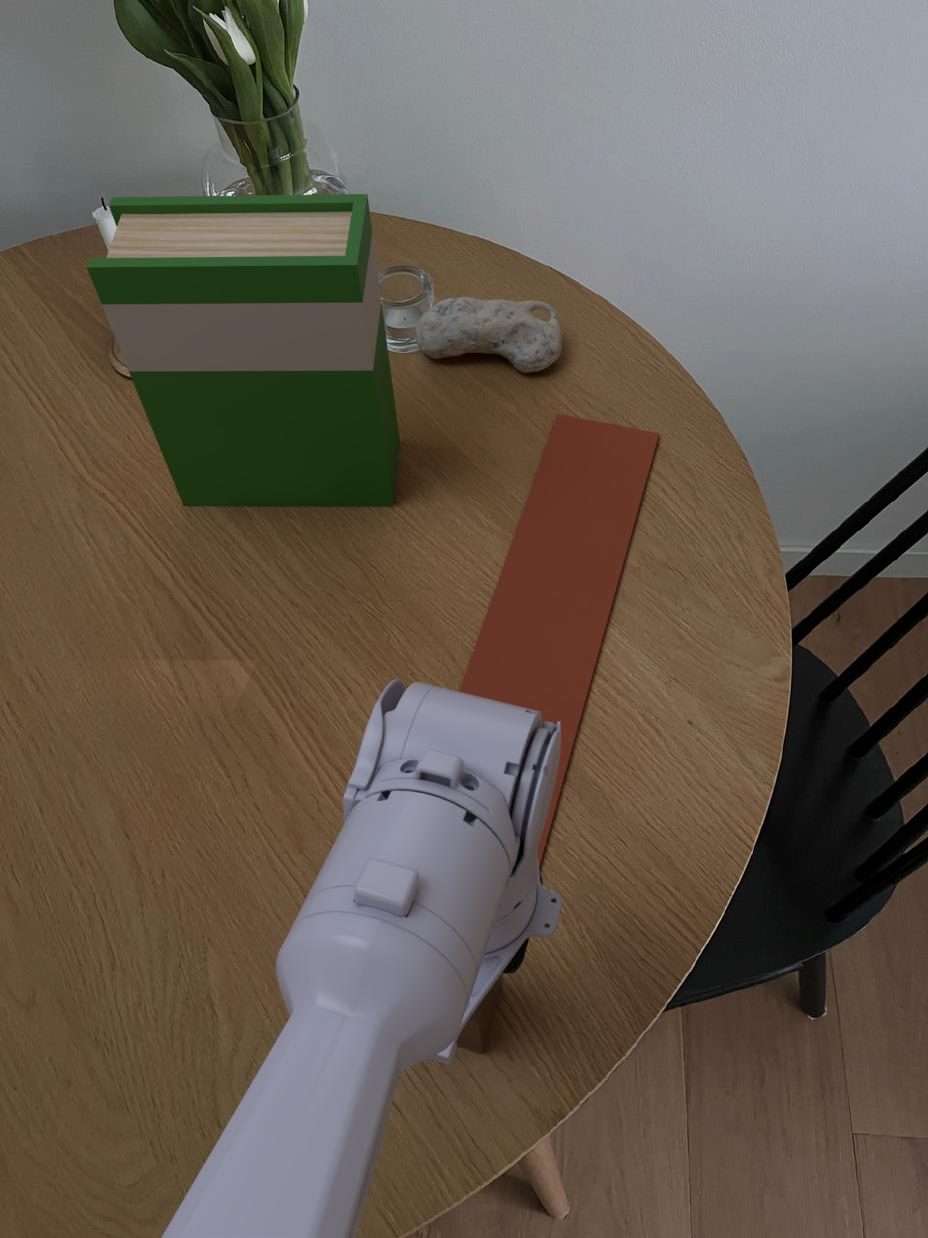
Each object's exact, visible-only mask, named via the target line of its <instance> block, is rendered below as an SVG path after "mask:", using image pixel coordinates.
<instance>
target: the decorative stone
mask: <svg viewBox="0 0 928 1238" xmlns="http://www.w3.org/2000/svg"><path fill="white" fill-rule="evenodd" d="M539 309H541V310H545V311H548V312H549V313H550V320H549V321H547V320H541V319H539V318H537V317H534V316H533V311H535V310H539ZM414 330H415V331H414V337H415V342H416V346H417V348H418V349H419V350H420V351H421V352H422V353H423V354H424V355H426V356H427V357H429V358H431V359H435V360H438V359H439V360H440V359H446V358H449V357H450V358H451V357H458V356H461V355H465V354H471V353H472V354H473V353H474V354H475V353H480V354H490V355H491V354H492V355H500V356H501V357H504V358H506V359H507V360H508V361H509V362H510V363H511V365H512V366H513V368H515V369H516V370H517V371H519V372H521V373H523V374H527V373H535V372H536V373H537V372H540V371H543V370H545V369H547V368H548V367H549V366H551V365H552V364H553V363H555V362H556V361H557V360H558V359H559V357H560V356H561V353H562V346H563V343H562V341H563V338H562V337H563V336H562V331H561V325H560V320H559V316H558V313H557V311H556V310H555V308H554V307H553V306H551V305H550V304H549V303H546V302H544V301H541V300H539V301H538V300H533V299H531V300H524V301H513V300H505V299H488V300H484V299H480V298H475V297H471V296H461V297H460V296H459V297H456V298H453V297H449V298H445V299H443V300H441V301H438V302H437V303H435V304H434V305H433V306H432V307H431V308H429V309H428V310H427V311H426V312H424V313H423V314H422V315H421V317H420V318H419V319H418V321H417V323H416V325H415V329H414Z"/></svg>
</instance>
